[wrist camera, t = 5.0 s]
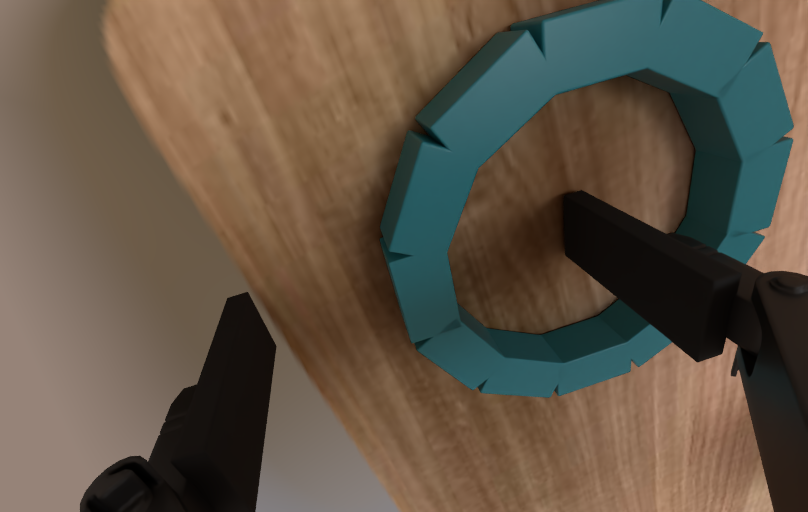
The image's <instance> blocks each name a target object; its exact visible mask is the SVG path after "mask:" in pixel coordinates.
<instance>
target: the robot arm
mask: <svg viewBox="0 0 808 512" xmlns="http://www.w3.org/2000/svg"><path fill="white" fill-rule="evenodd" d="M564 231H565V255H566V256H567V257H568V258H569V259H571V260H572V261H573V262H574V263H576V264H577V265H578V266H579V267H581V268H582V269H583V270H584V271H585V272H587V273H588V274H589V275H590V276H592V277H593V278H594V279H595V280H597V281H598V282H599V283H600V284H601V285H603V286H604V287H605V288H606V289H608V290H609V291H610V292H611V293H613V294H614V295H615V296H616V297H617V298H619V299H620V300H621V301H622V302H624V303H625V304H626V305H627V306H629V307H630V308H631V309H632V310H633V311H635V312H636V313H637V314H638V315H640V316H641V317H642V318H643V319H645V320H646V321H647V322H648V323H649V324H651V325H652V326H653V327H654V328H656V329H657V330H658V331H659V332H661V333H662V334H663V335H664V336H665V337H667V338H668V339H669V340H670V341H672V342H673V343H674V344H675V345H677V346H678V347H679V348H680V349H681V350H683V351H684V352H685V353H686V354H688V355H689V356H690V357H691V358H693V359H694V360H695V361H696V362H700V361H703V360H706V359H709V358H712V357H715V356H718V355H721V354H722V352H723V348H724V344H725V340H726V337H727V338H728V339H730V340H731V341H732V342H734V343H735V344H737V345H738V347H737V351H736V355H735V359H734V362H733V366H732V370H731V376H735V377H736V374H737V371H738V370H739V371H740V375H741V379H742V383H743V387H744V391H745V395H746V399H747V403H748V407H749V412H750V416H751V420H752V424H753V428H754V432H755V436H756V440H757V444H758V448H759V452H760V456H761V460H762V465H763V469H764V473H765V477H766V481H767V485H768V489H769V493H770V497H771V501H772V505H773V509H774V512H808V276H805V275H802V274H799V273H793V272H786V271H773V272H767V273H762V272H760V271H758V270H756V269H754V268H752V267H750V266H748V265H746V264H744V263H742V262H740V261H738V260H736V259H734V258H732V257H730V256H728V255H726V254H724V253H722V252H720V253H719V252H718V250H716V249H714V248H712V247H710V246H706V244H704V243H701V242H699V241H697V240H695V239H693V238H691V237H688V236H684V235H680V234H676V233H669V234H665V233H663V232H661V231H659V230H657V229H655V228H653V227H652V226H650V225H648V224H646V223H644V222H642V221H640V220H638V219H636V218H634V217H632V216H630V215H628V214H627V213H625V212H623V211H621V210H619V209H617V208H615V207H613V206H611V205H609V204H607V203H605V202H603V201H601V200H600V199H598V198H596V197H594V196H592V195H590V194H588V193H586V192H584V191H582V190H581V191H577V192H574V193H571V194H568V195H564ZM275 353H276V344H275V342H274V341H273V339H272V337H271V335H270V333H269V331H268V329H267V327H266V325H265V324H264V322H263V320H262V318H261V316H260V314H259V312H258V310H257V308H256V307H255V305H254V303H253V301H252V299H251V297H250V295H249V293H248V292H246V293H242V294H239V295H236V296H233V297H230V298H227V301H226V304H225V306H224V309H223V312H222V315H221V318H220V321H219V324H218V326H217V329H216V332H215V335H214V338H213V341H212V344H211V346H210V349H209V352H208V355H207V358H206V361H205V364H204V366H203V369H202V372H201V375H200V378H199V381H198V383H197V385H194V386H191V387H188V388H184V389H183V390H182V391H181V393H180V394H179V395H178V396H177V398H176V399H175V400H174V402H173V403H172V404H171V406H170V409H169V411H168V414H167V416H166V419H165V421H166V422H165V423H164V424H163V426H162V429H161V431H160V435H159V436H158V439H157V441H156V443H155V446H154V449H153V451H152V453H151V456H150V458H149V461H148V462H147V460H145V459H144V458H142V457H141V456H130V457H127V458H125V459H122V460H120V461H118V462H116V463H115V464H113V465H112V466H110V467H109V468H107V469H106V470H105V471H104V472H103V473H101V475H99V476H98V477H97V478H96V479H95V480H94V481H93V482H92V484H91V485H90V486H89V488H88V489H87V490H86V492H85V494H84V496H83V498H82V500H81V503H80V512H255V510H256V501H257V494H258V486H259V478H260V471H261V462H262V454H263V447H264V439H265V431H266V424H267V416H268V408H269V400H270V392H271V384H272V375H273V369H274V361H275Z"/></svg>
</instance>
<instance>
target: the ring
mask: <svg viewBox="0 0 808 512" xmlns="http://www.w3.org/2000/svg"><path fill="white" fill-rule="evenodd" d="M510 29H511V31H509V32H499V33H496V34H495V35H494V36H493V37H492V38H491V39H490V41H489V42H488V43H487V44H486V45H485V46H484V47H483V48H482V49H481V50H480V51H479V52H478V53H477V54H476V55H475V56H474V57H473V58H472V59H471V60H470V61H469V62H468V63H467V64H466V65H465V66H464V67H463V68H462V69H461V70H460V71H459V72H458V74H457V75H456V76H455V77H454V78H453V79H452V80H451V81H450V82H449V83H448V84H447V85H446V86H445V87H444V88H443V89H442V90H441V91H440V92H439V93H438V94H437V95H436V96H435V97H434V98H433V99H432V100H431V101H430V102H429V103H428V104H427V105H426V106H425V108H424V109H423V110H422V111H421V112H420V113H419V114H418V115H417V116H416V117H415V120H416V121H417V122H418V123H419V124H420V126H421V127H422V128H423V129H424V130H425V131H426V132H427V133H428V135H429V136H428V135H425V134H421V133H418V132H414V131H411V130H409V131H408V132H407V134H406V137H405V141H404V144H403V148H402V151H401V155H400V158H399V162H398V165H397V169H396V172H395V176H394V179H393V183H392V186H391V190H390V193H389V197H388V200H387V204H386V207H385V211H384V214H383V218H382V221H381V225H380V229H381V232H382V235H383V238H380V243H381V247H382V250H383V253H384V257H385V260H386V264H387V267H388V270H389V274H390V277H391V280H392V284H393V287H394V291H395V294H396V297H397V301H398V304H399V308H400V311H401V314H402V317H403V320H404V323H405V326H406V329H407V332H408V335H409V338H410V341H411V343H415V346H416V349H417V351H418V352H420V353H421V354H422V355H424V356H425V357H427V358H428V359H429V360H431V361H432V362H434V363H435V364H436V365H438V366H439V367H441V368H442V369H443V370H445V371H446V372H448V373H449V374H450V375H452V376H453V377H454V378H456V379H457V380H459V381H460V382H461V383H463V384H464V385H466V386H467V387H468V388H470V389H471V390H474V389H475V388H477V387H478V389H479V391H480V392H481V393H488V394H503V395H517V396H532V397H547V398H549V397H551V395H552V393H553V392H554V391H555V392H556V393H557V395H558V396H561V395H564V394H567V393H570V392H573V391H576V390H579V389H581V388H584V387H587V386H590V385H593V384H596V383H599V382H602V381H605V380H608V379H611V378H613V377H616V376H619V375H622V374H625V373H628V372H630V370H631V361H632V362H633V363H635V364H636V365H637V366H638V367H640V366H641V365H643V364H644V363H645V362H647V361H648V360H649V359H650V358H652V357H653V356H654V355H656V354H657V353H658V352H660V351H661V350H662V349H664V348H665V347H666V346H668V345H669V344H670V343H672V341H670V340H669V339H668V338H667V337H665V336H664V335H663V334H662V333H661V332H659V331H658V330H657V329H656V328H654V327H653V326H652V325H651V324H649V323H648V322H647V321H646V320H645V319H643V318H642V317H641V316H640V315H638V314H637V313H636V312H635V311H633V310H632V309H631V308H630V307H629V306H627V305H626V304H625V303H624V302H622V301H621V300H620V299H619V300H617V301H616V302H615V303H614V304H612V305H611V306H610V307H609V308H607V309H606V310H605V311H604V312H602V313H601V314H600V315H599V316H597V317H594V318H591V319H588V320H585V321H581V322H578V323H575V324H572V325H569V326H566V327H563V328H560V329H557V330H554V331H551V332H548V333H545V334H542V335H536V334H528V333H520V332H512V331H504V330H496V329H488V328H486V327H484V326H483V325H482V324H481V323H480V322H479V321H477V320H476V319H475V318H474V317H473V316H472V315H471V314H469V313H468V312H467V311H466V310H465V309H464V308H462V307H461V306H460V305H459V304H458V303H457V299H456V294H455V289H454V284H453V279H452V274H451V269H450V264H449V259H448V254H447V251H448V249H449V246H450V243H451V241H452V238H453V235H454V233H455V230H456V227H457V225H458V222H459V219H460V216H461V214H462V211H463V208H464V206H465V203H466V200H467V198H468V195H469V192H470V190H471V187H472V184H473V181H474V179H475V176H476V173H477V171H478V168H479V167H480V166H481V165H482V164H484V163H485V162H486V161H487V160H488V159H489V158H490V157H491V156H492V155H493V154H494V153H495V152H496V151H497V150H498V149H499V148H500V147H501V146H502V145H503V144H504V143H505V142H507V141H508V140H509V139H510V138H511V137H512V136H513V135H514V134H515V133H516V132H517V131H518V130H519V129H520V128H521V127H522V126H523V125H524V124H525V123H526V122H527V121H528V120H530V119H531V118H532V117H533V116H534V115H535V114H536V113H537V112H538V111H539V110H540V109H541V108H542V107H543V106H544V105H545V104H546V103H547V102H548V101H549V100H550V99H551V98H553V97H554V96H555V95H557V94H561V93H564V92H568V91H571V90H575V89H578V88H582V87H585V86H589V85H592V84H596V83H599V82H603V81H606V80H610V79H613V78H617V77H620V76H624V75H627V76H629V77H632V78H634V79H637V80H639V81H642V82H644V83H647V84H649V85H652V86H654V87H657V88H659V89H662V90H664V91H667V92H669V93H670V95H671V97H672V99H673V101H674V103H675V106H676V108H677V110H678V112H679V114H680V116H681V119H682V121H683V123H684V125H685V127H686V129H687V132H688V134H689V136H690V138H691V140H692V142H693V145H694V147H695V149H696V153H695V159H694V166H693V173H692V180H691V187H690V193H689V200H688V207H687V214H686V217H685V218H684V220H683V221H682V223H681V225H680V226H679V228H678V230H677V231H676V234H680V235H684V236H688V237H691V238H693V239H695V240H697V241H699V242H701V243H704V244H706V246H710V247H712V248H714V249H716V250H718V252H719V253H720V252H722V253H724V254H726V255H728V256H730V257H732V258H734V259H736V260H738V261H740V262H742V263H744V264H746V263H747V262H748V260H749V259H750V257H751V256H752V255H753V253H754V252H755V251H756V249H757V248H758V246H759V245H760V244H761V242H762V241H763V239H764V238H765V236H763V235H761V234H758V233H756V232H755V231H758V230H761V229H764V228H768V227H769V226H770V224H771V221H772V217H773V213H774V210H775V206H776V202H777V199H778V195H779V191H780V187H781V184H782V180H783V176H784V173H785V169H786V165H787V162H788V158H789V154H790V150H791V147H792V143H793V139H792V138H788V137H783V136H784V135H785V134H787V133H788V132H789V131H790V130H791V129H793V127H794V125H793V121H792V118H791V114H790V111H789V107H788V104H787V100H786V97H785V93H784V90H783V86H782V83H781V79H780V76H779V72H778V69H777V65H776V62H775V58H774V55H773V51H772V48H771V44H770V43H769V42H759V40H760V38H761V37H762V35H763V32H761V31H759V30H757V29H755V28H753V27H751V26H749V25H748V24H746V23H744V22H742V21H740V20H738V19H736V18H734V17H732V16H730V15H728V14H726V13H724V12H723V11H721V10H719V9H717V8H715V7H713V6H711V5H709V4H707V3H705V2H703V1H701V0H598V1H595V2H591V3H587V4H583V5H580V6H576V7H572V8H569V9H565V10H561V11H558V12H554V13H550V14H547V15H543V16H539V17H535V18H532V19H528V20H524V21H521V22H517V23H513V24H512V25H511V27H510Z"/></svg>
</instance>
